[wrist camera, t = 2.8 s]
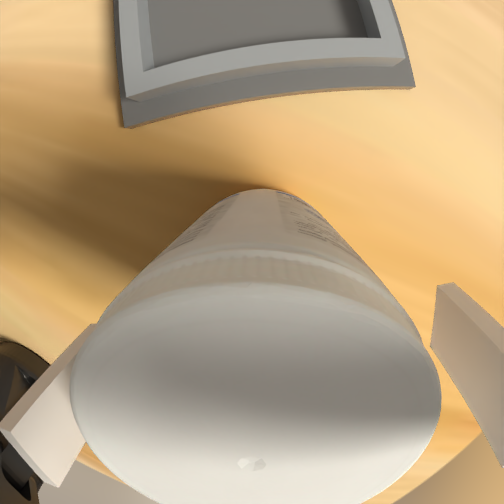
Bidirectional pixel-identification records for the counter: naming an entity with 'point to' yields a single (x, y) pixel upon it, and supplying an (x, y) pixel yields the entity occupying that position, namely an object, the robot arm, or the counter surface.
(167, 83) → the board
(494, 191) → the counter surface
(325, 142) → the counter surface
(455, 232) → the counter surface
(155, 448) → the supplement tub
